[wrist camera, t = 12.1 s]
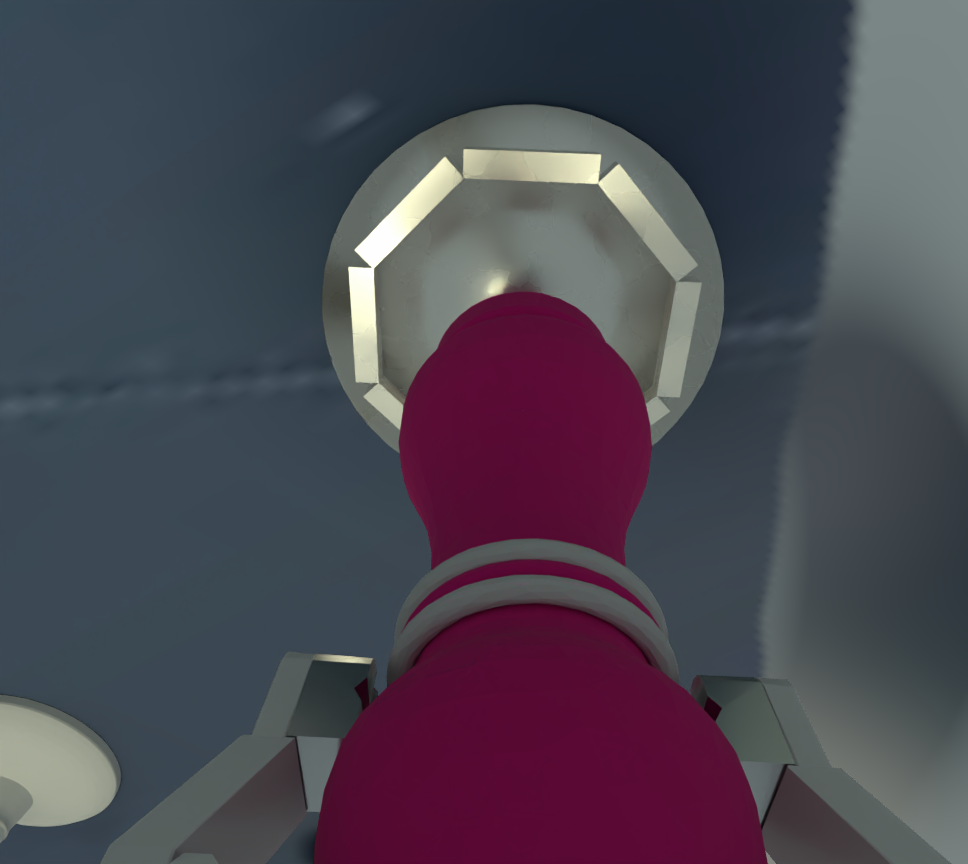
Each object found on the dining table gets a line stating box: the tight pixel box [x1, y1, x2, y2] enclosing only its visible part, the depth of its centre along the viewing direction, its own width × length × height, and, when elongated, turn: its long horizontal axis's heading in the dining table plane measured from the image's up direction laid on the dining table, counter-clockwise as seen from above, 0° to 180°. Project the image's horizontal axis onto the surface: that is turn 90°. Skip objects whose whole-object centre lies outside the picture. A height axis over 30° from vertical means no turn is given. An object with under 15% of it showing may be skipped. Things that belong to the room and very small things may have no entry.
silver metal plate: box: [322, 104, 724, 454], centre depth 28 cm, size 17×17×2 cm
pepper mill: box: [314, 292, 768, 864], centre depth 14 cm, size 7×7×20 cm
